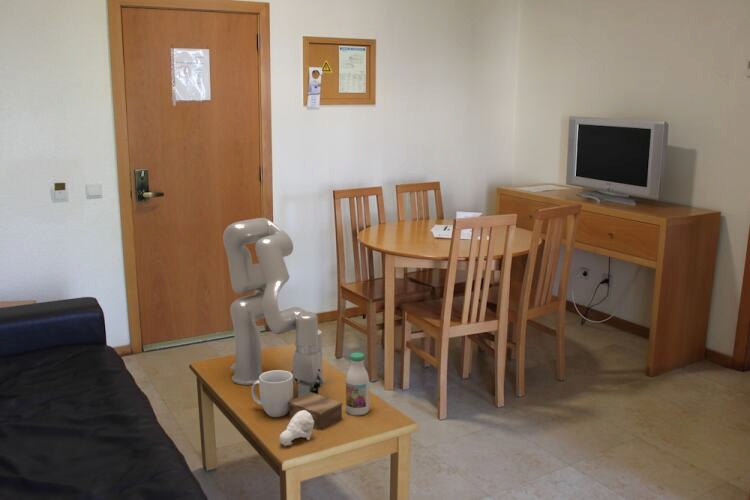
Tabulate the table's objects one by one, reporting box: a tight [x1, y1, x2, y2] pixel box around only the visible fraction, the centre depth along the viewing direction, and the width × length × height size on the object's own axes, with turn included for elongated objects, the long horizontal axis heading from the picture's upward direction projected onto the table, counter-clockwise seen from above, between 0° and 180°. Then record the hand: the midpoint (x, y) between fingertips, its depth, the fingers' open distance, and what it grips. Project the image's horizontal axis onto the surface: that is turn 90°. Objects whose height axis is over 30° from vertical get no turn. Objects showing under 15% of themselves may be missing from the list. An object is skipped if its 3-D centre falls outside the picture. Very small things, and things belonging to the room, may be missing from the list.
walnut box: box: [288, 392, 343, 431], centre depth 236 cm, size 14×10×6 cm
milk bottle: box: [345, 352, 370, 416], centre depth 240 cm, size 8×8×20 cm
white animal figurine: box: [278, 410, 314, 447], centre depth 221 cm, size 6×8×12 cm
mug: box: [250, 369, 294, 418], centre depth 241 cm, size 15×11×13 cm
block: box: [297, 381, 320, 398], centre depth 252 cm, size 5×5×6 cm
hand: (308, 397), depth 252 cm, fingers closed on block, 5 cm apart
